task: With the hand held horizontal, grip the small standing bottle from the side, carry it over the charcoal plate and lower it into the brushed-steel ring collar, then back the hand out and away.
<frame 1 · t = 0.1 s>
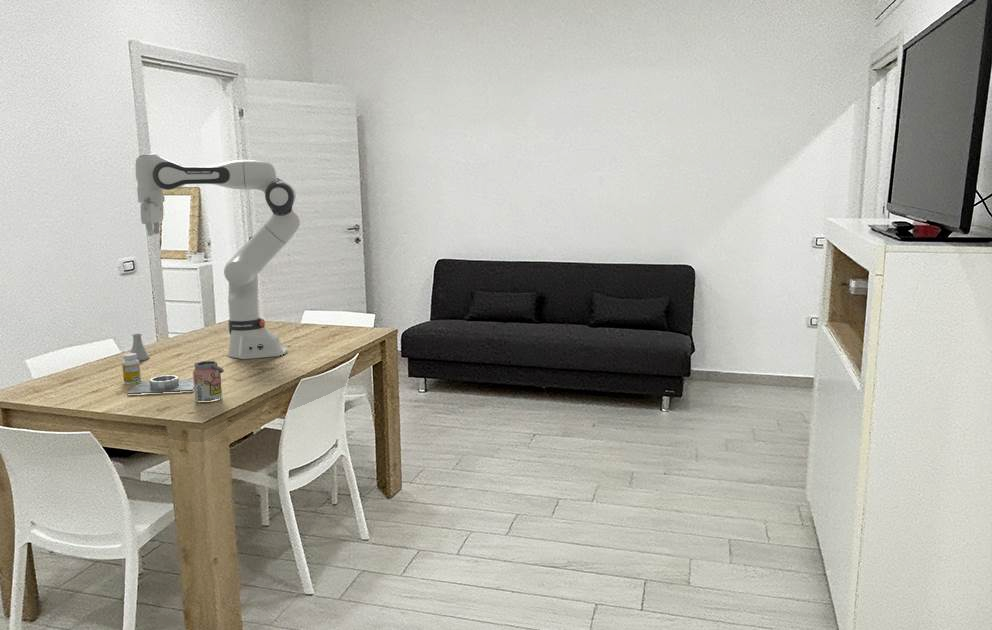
hand: (153, 234, 299), 48 cm above the table, tool pointing down, fingers open, 8 cm apart
flask: (139, 360, 306), on the table
supplement bottle: (132, 382, 273), on the table
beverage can: (210, 400, 251), on the table
collar plate: (164, 388, 264), on the table
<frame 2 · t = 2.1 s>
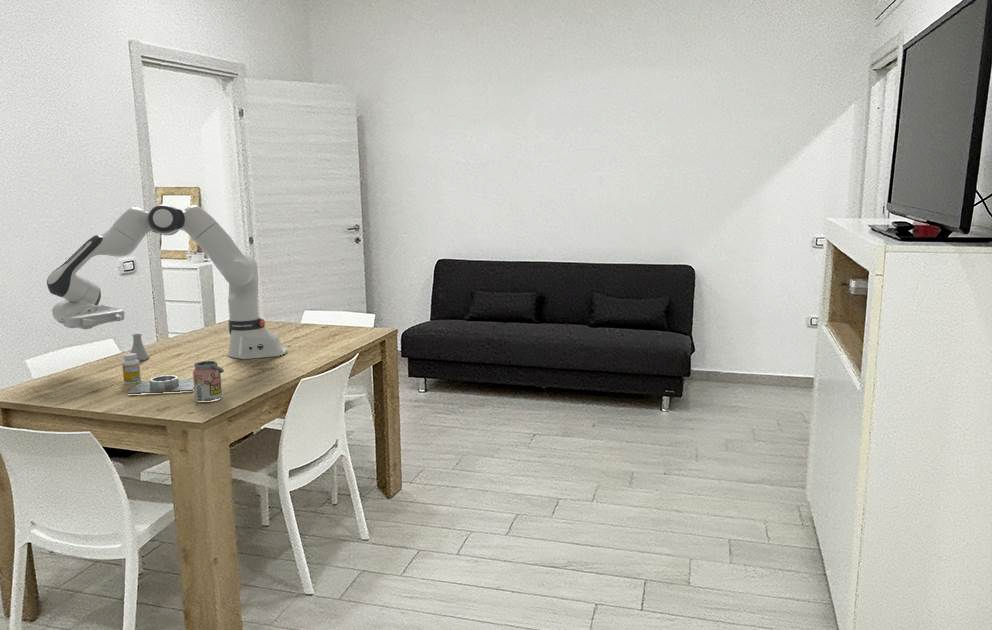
hand: (106, 320, 276), 20 cm above the table, tool horizontal, fingers open, 8 cm apart
nothing on the table moved.
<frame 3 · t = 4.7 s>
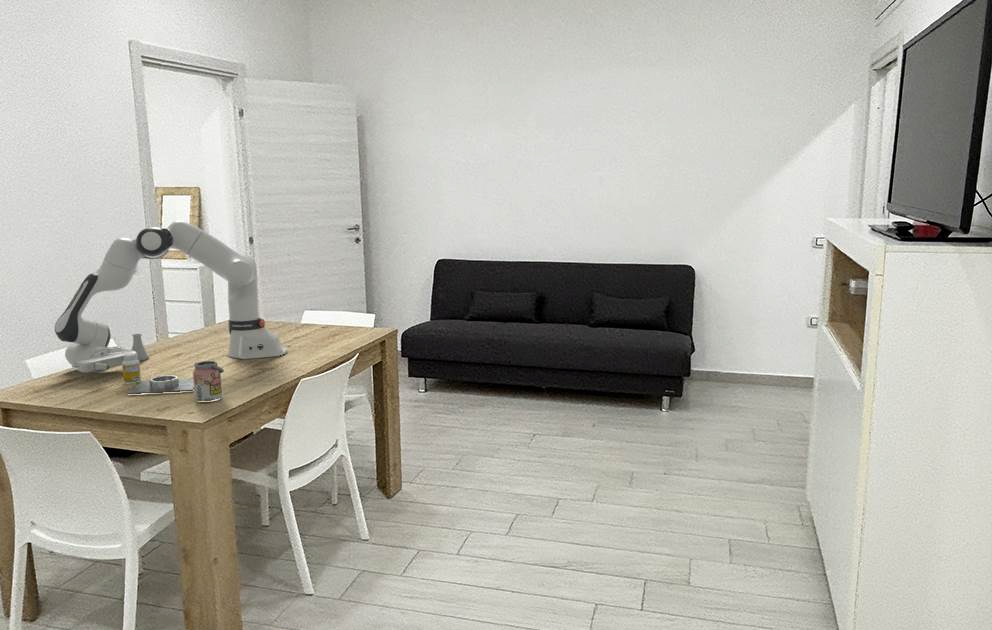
hand: (120, 364, 276), 5 cm above the table, tool horizontal, fingers open, 8 cm apart
nothing on the table moved.
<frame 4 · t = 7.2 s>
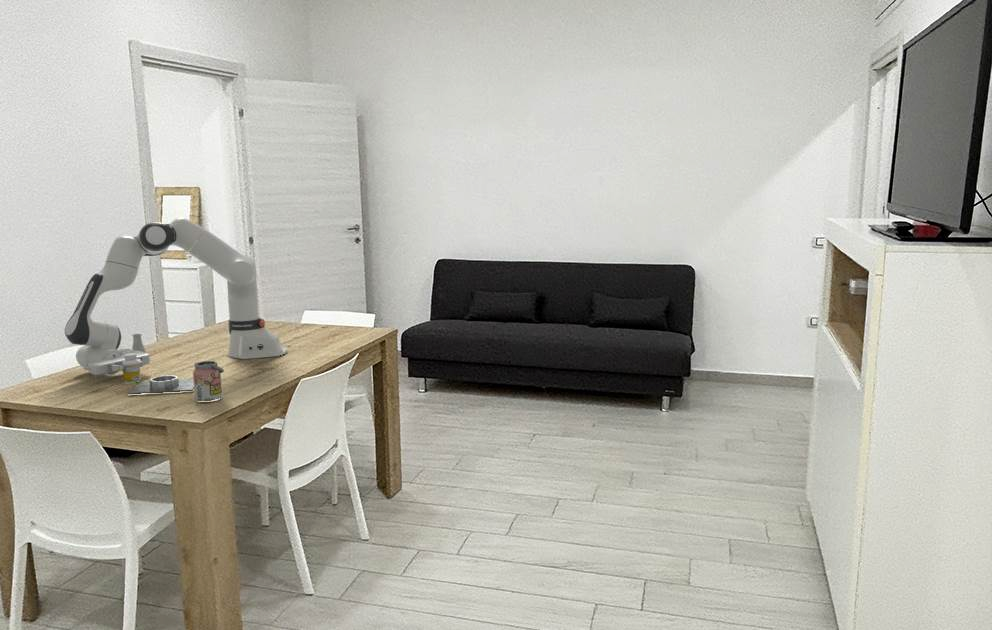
hand: (132, 366, 272), 6 cm above the table, tool horizontal, fingers closed on supplement bottle, 5 cm apart
supplement bottle: (132, 382, 273), on the table, touching gripper
everything else where it was.
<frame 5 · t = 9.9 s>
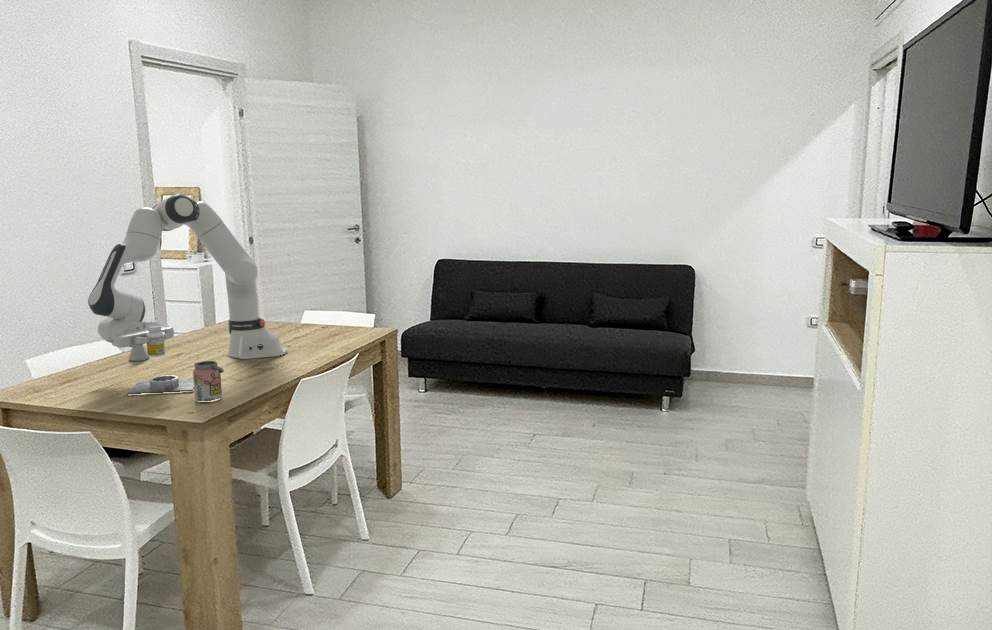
hand: (156, 338, 262), 17 cm above the table, tool horizontal, fingers closed on supplement bottle, 5 cm apart
supplement bottle: (156, 355, 264), point 11 cm above the table, touching gripper
everything else where it was.
when the fingers open (8 cm above the table, at t = 13.2 s): supplement bottle stays where it is, resting on collar plate.
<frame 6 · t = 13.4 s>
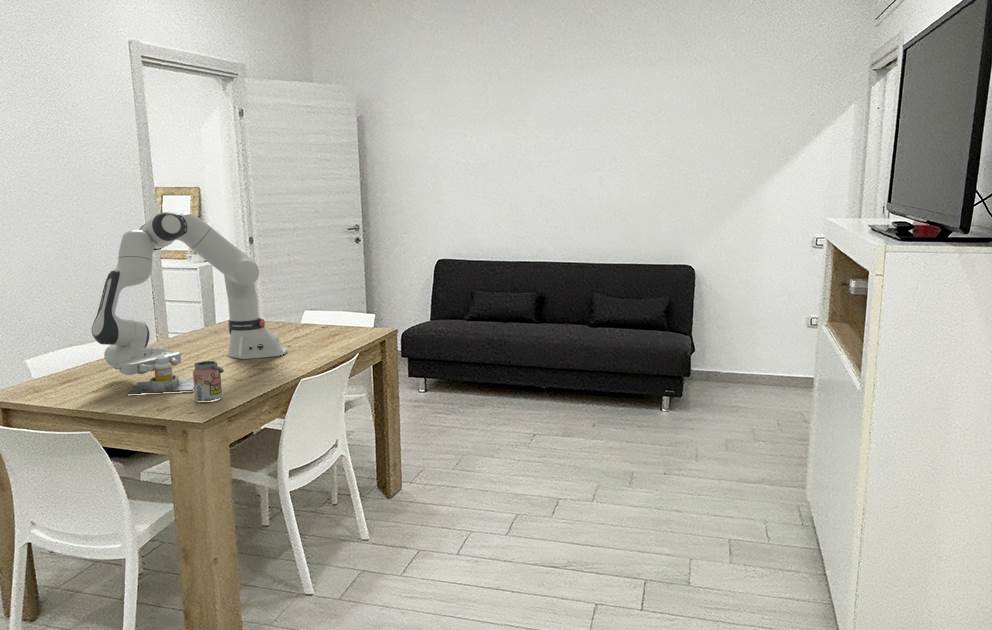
hand: (164, 365, 262), 8 cm above the table, tool horizontal, fingers open, 8 cm apart
supplement bottle: (164, 386, 264), point 1 cm above the table, touching collar plate
everything else where it was.
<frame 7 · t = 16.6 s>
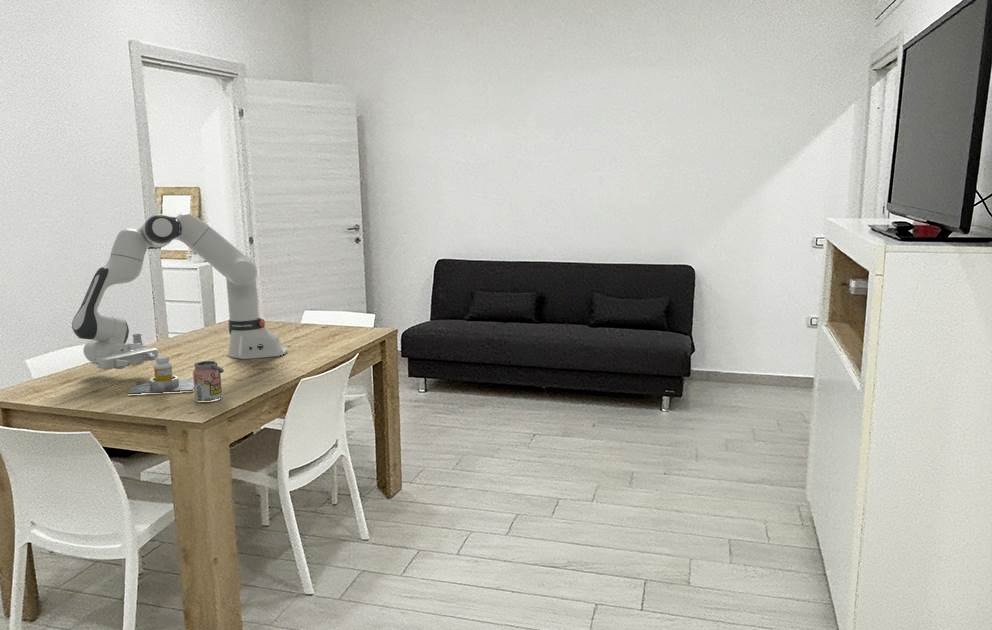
hand: (141, 360, 269), 8 cm above the table, tool horizontal, fingers open, 8 cm apart
nothing on the table moved.
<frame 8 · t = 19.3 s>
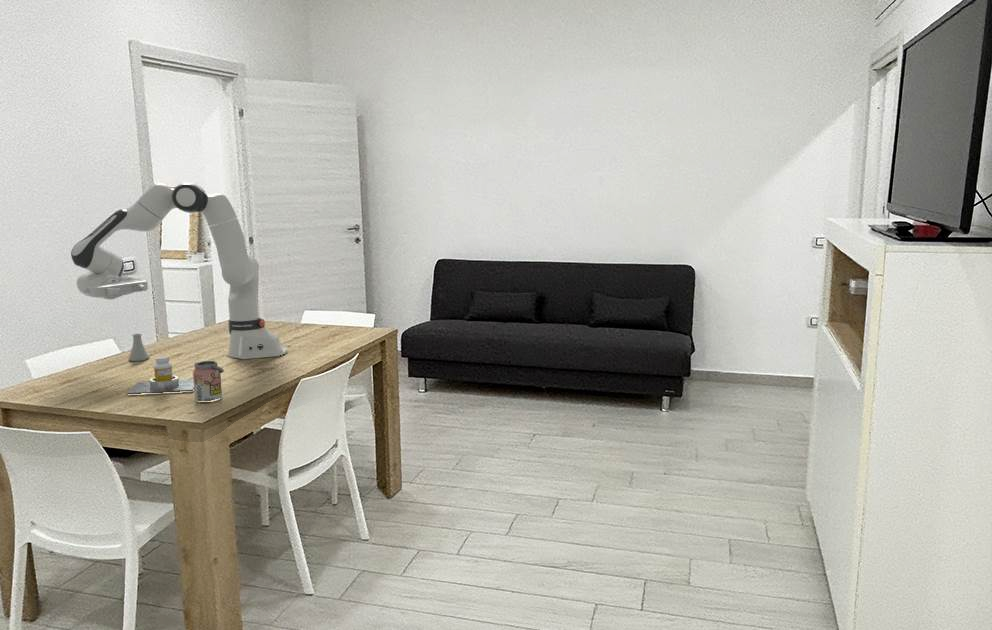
hand: (131, 290, 282), 30 cm above the table, tool horizontal, fingers open, 8 cm apart
nothing on the table moved.
at the end: supplement bottle 0.1 cm off-centre on the collar plate, point 0.8 cm above the collar plate's base; supplement bottle tilted 0°; the gripper is holding nothing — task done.
